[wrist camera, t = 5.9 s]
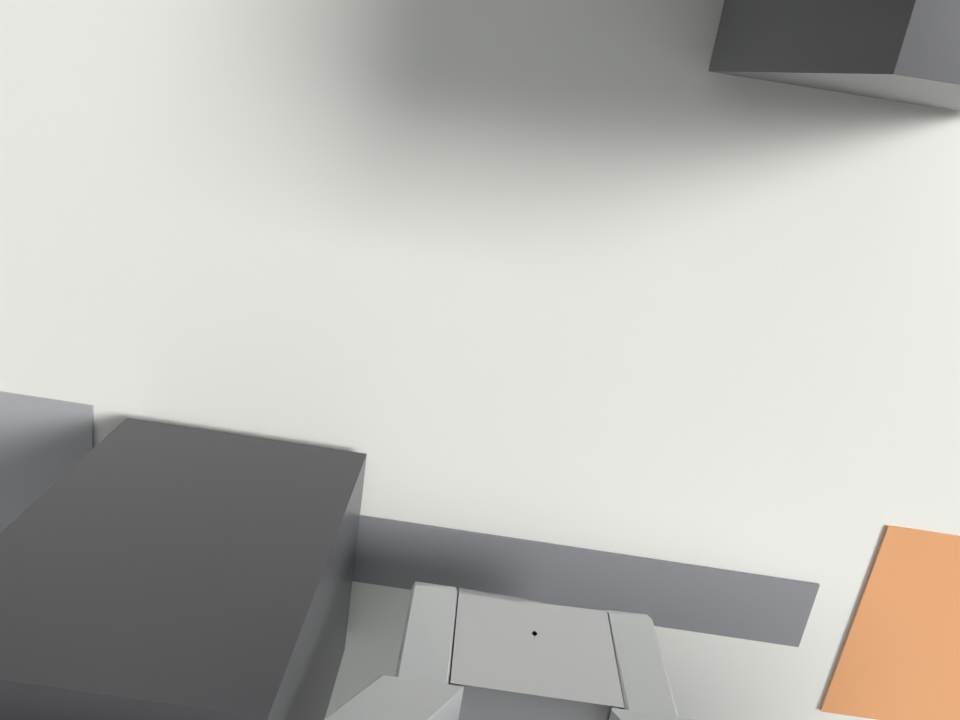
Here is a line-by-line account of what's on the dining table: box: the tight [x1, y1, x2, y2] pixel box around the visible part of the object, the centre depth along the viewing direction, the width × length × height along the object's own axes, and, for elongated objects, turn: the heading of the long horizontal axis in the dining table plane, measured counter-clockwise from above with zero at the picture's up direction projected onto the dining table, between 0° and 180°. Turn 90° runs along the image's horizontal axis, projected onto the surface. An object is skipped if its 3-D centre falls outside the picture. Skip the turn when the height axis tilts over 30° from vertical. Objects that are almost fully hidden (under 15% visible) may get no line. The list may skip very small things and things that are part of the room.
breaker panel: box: [0, 0, 960, 720], centre depth 11 cm, size 16×18×3 cm
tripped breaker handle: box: [0, 418, 367, 720], centre depth 9 cm, size 3×3×4 cm
